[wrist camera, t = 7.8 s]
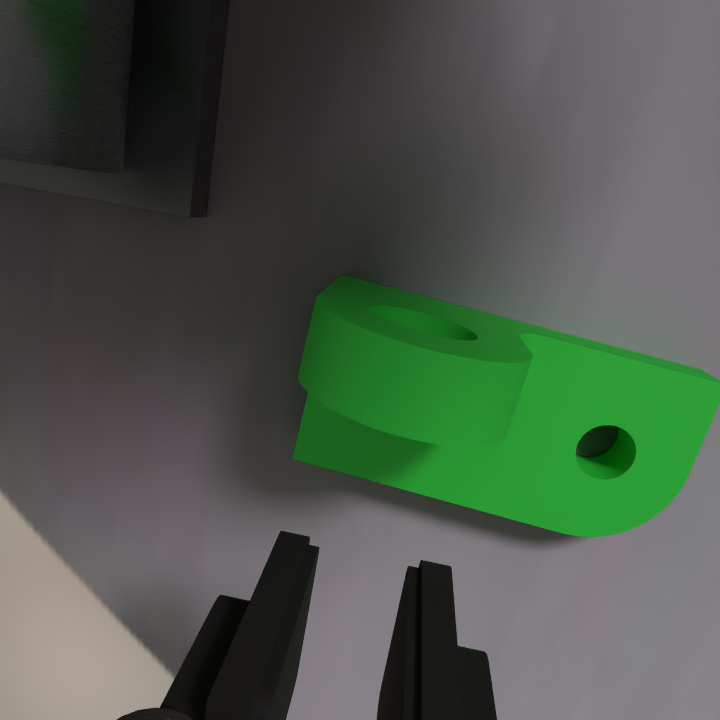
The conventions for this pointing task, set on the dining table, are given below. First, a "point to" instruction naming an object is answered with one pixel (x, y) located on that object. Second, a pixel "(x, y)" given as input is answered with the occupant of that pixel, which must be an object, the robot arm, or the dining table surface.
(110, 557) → the dining table surface
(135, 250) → the dining table surface
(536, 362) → the mechanical part
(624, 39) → the dining table surface
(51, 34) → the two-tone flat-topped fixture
